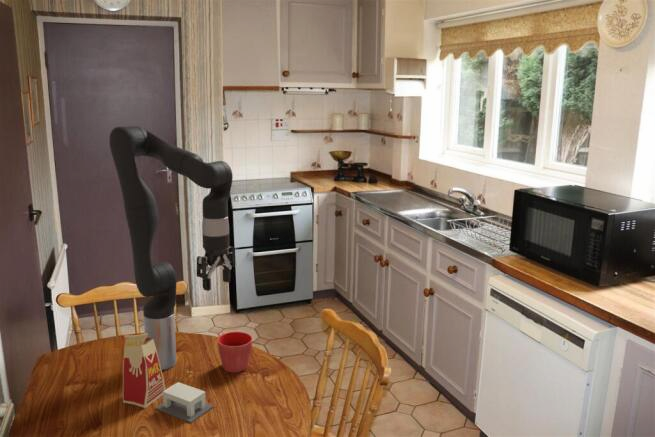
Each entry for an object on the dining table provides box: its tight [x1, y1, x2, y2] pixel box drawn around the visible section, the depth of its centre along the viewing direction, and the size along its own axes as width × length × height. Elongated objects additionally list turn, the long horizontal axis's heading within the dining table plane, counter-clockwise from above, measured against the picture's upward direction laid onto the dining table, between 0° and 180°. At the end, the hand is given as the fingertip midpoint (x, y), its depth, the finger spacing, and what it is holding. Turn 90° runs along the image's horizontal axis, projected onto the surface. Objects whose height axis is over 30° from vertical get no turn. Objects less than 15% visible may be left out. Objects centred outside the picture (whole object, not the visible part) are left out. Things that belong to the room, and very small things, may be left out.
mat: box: [154, 400, 215, 424], centre depth 158 cm, size 13×9×1 cm
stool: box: [162, 381, 207, 417], centre depth 158 cm, size 5×6×10 cm
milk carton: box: [122, 333, 167, 409], centre depth 161 cm, size 9×9×20 cm
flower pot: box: [216, 331, 254, 373], centre depth 181 cm, size 11×11×10 cm
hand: (217, 285), depth 167 cm, fingers open, 8 cm apart
